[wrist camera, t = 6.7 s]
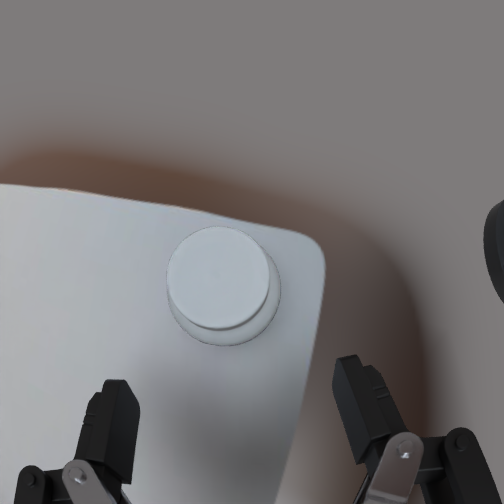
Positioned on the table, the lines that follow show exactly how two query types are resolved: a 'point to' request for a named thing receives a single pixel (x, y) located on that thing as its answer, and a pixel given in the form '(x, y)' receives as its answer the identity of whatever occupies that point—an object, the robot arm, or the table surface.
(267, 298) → the pill bottle
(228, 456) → the table surface
